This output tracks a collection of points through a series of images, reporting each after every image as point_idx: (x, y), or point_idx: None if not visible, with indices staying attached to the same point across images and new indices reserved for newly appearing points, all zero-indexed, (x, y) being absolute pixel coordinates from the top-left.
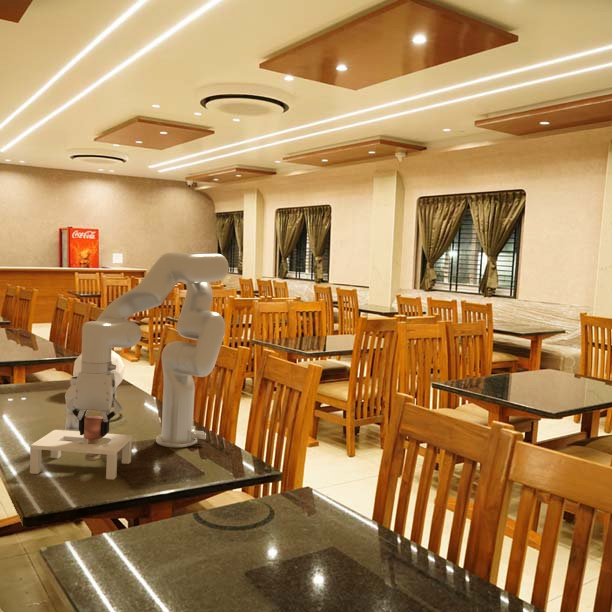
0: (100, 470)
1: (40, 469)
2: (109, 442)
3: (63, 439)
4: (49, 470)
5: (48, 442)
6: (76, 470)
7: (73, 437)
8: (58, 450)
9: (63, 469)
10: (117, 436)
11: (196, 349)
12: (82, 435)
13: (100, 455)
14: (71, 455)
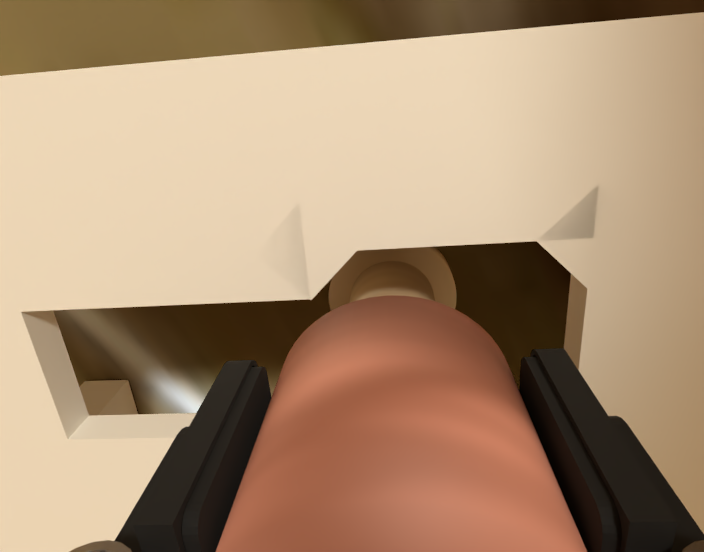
0: (462, 288)
1: (123, 392)
2: (589, 379)
3: (47, 318)
4: (162, 358)
5: (35, 500)
6: (312, 323)
7: (124, 306)
8: None
9: (228, 326)
10: (635, 136)
11: None
12: (178, 232)
13: (453, 284)
14: (101, 41)
